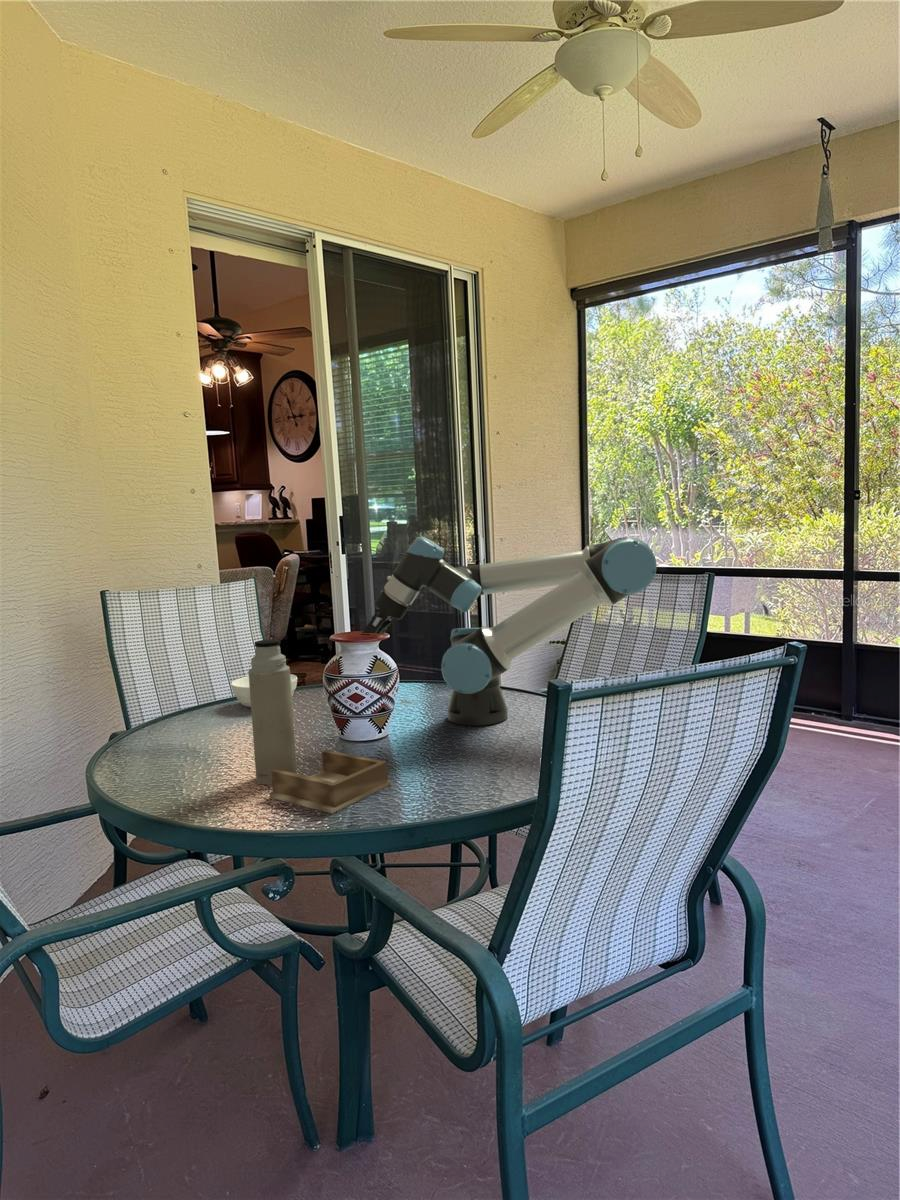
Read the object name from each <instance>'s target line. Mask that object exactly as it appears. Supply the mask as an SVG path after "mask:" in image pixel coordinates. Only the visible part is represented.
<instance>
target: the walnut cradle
mask: <svg viewBox="0 0 900 1200" xmlns="http://www.w3.org/2000/svg"><path fill="white" fill-rule="evenodd" d="M321 758H322V759H321V760H322V770H321V771H319V772H316V773H314V774H312V775H310V776H307V775H304V774H303V775H302V774H299V773H297V774H295V773H291V772H286V771H282V770H278V769H276V770H273V771H271V772H272V785H271V787H272V791H271V792H269V797H270V798H271V799H274V800H275V799H276V800H279V801H283V802H286V803H291V804H293V805H297V806H303V807H304V808H305V807H306V808H309V809H313V810H316V811H320V812H325V813H328V814H331V815H332V814H334V813H336V811H337V812H338V811H341V810H342V809H345V808H347V807H348V806H350V805H352V804H355V803H357V802H358V801H361V800H363V799H365V798H367V797H370V795H373V794H376V793H377V792H379V791H381V790H383V789H385V788H387V787H389V786H391V780H388V779H389V778H388V763H387V761H384V760H379V759H375V758H368V757H365V756H359V755H355V754H348V753H344V752H340V751H333V750H329V749H324V750H323V751H321Z"/></svg>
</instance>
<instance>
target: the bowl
mask: <svg viewBox="0 0 900 1200" xmlns="http://www.w3.org/2000/svg"><path fill="white" fill-rule="evenodd" d="M290 679H291V694H292V696H293V695H294V692H295V690H296V689H297V684H298V677H297V675H295V674H292V673H290ZM230 686H231V689H232V692H233V694H234V695H235V696H236V697H235V698H236V699H237V701H239V703H240V704H242V706H244V707H248V708H251V700H250V686H249V675H248V676H244V677H240V678H237V679H234V680H233V681H232V682H231V683H230Z"/></svg>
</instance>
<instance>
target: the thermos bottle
mask: <svg viewBox="0 0 900 1200" xmlns="http://www.w3.org/2000/svg"><path fill="white" fill-rule="evenodd" d="M280 645H281V640H280V639H275V638H274V639H272V638H271V639H262V640H257V641H255V642H254V647H255V649H254V654H255V655H254V656H253V657H252V658H251V660H250V665H251V668H250V669H248V676H249V686H250V700H251V707H250V712H251V713H250V714H251V724H252V738H253V739H252V740H253V752H254V767H255V768H254V769H255V777H256V778H255V779H256V782H257V783H259V784H261V785H265V786H266V785H267V786H268V785H269V786H272V772H271V771H273V770H276V769H278V770H282V771H286V772H291V773H295V774H298V772H297V771H298V769H297V757H296V755H297V754H296V739H295V724H294V713H293V695H292V694H291V679H290V674H291V669H290V666H289V665H287V663H286V662H287V659H286V655H284V654H282V653H281V652H282V651H281V646H280Z"/></svg>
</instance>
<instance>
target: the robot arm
mask: <svg viewBox="0 0 900 1200" xmlns="http://www.w3.org/2000/svg"><path fill="white" fill-rule="evenodd" d="M444 555H445V550H444V549H443V548H442V547H441V546H440V545H438V544H437V543H436V542H434V541H433V540H431V539H429V538H428V537H426V536H422V535H421V536H418V537H416V538H415V539H414V540H413V542H412V543H411V544H410V546H409V547H408V549H407V550H406V552H405V553H404V555H403V557H402V558H401V560H400V561H399V563H398V564H397V566H396V568H395V569H394V571H393V573H392V574H391V576H390V575H388V576H387V577H386V579H387V582H386V583H385V585H384V587H383V588H384V589H382V590H380V592H379V594H378V596H377V597H376V599H375V600H374V605H375V607H376V608H378V610H379V611H378V612H376V614H373V616H371V620H370V621H369V622H368V624H367V625H366V627H365V628H364V629H363V631H362V632H361V633H378V634H383V635H384V634H385V633H386V630H387V629H388V627H389V626H390V625H391V624H392V620H393V619H395V620H402V619H403V617H404V616H405V614H406V613H407V612H408V610H409V606H411V605H412V604H413V603H414V601H415V599H416V598H417V596H418V595H419V594H420V592H421V590H422V588H423V587H425V588H426V589H427V590H428V591H430V592H432V593H433V594H434V595H436V596H438V597H439V598H441V600H443V601H445V602H446V603H447V604H449V605H450V606H451V607H452V608H455V609H457V610H458V611H460V612H462V613H467V612H468V611H469V610H470V609H471V608H472V606H473V605H474V604H475V602H476V601H477V599H478V598H479V596H483V595H491V594H492V595H493V594H499V593H507V592H515V591H523V590H531V589H540V588H547V587H554V586H556V587H554V588H553V589H551V590H549V591H547V592H546V593H544V594H543V595H542V596H540V597H539V598H537V599H535V600H534V601H532V602H530V603H529V604H528V605H526V606H524V607H523V608H522V609H520V610H518V611H516V612H515V613H513V614H511V615H510V616H509V617H507V618H506V619H503V620H502V621H501V622H499V623H498V624H496V625H494V626H492V627H488V626H481V627H461V628H460V627H459V628H453V629H452V630H451V632H450V642H451V646H450V647H449V648H448V649H447V650H446V651H444V654H443V656H442V660H441V664H440V668H441V669H440V670H441V675H442V678H443V680H444V682H445V683H446V684H447V685H448V686H449V687H450V688H451V689H452V692H451V696H450V699H449V704H448V707H447V720H448V721H449V722H450V723H453V724H455V725H460V726H461V725H462V726H470V727H471V726H475V727H476V726H488V725H494V724H498V723H501V722H504V721H506V720H507V719H508V717H509V715H508V713H509V712H508V707H507V703H506V701H505V698H504V696H503V692H502V690H501V688H500V676H501V675H502V674H504V673H505V672H507V671H509V670H510V669H511V664H512V661H513V660H514V659H515V658H517V657H518V656H521V655H522V654H523V653H525V652H526V651H528V650H530V649H531V648H533V647H535V646H537V645H538V644H539V643H541V642H543V641H544V640H546V639H547V638H550V636H552V635H554V634H555V633H557V632H559V631H561V630H562V629H563V628H565V627H567V626H568V625H570V624H572V623H573V622H575V621H577V620H578V619H580V618H581V617H583V616H584V615H586V614H588V613H589V612H591V611H593V610H594V609H596V608H597V607H600V606H601V605H608V606H614V605H615V604H617V603H618V602H620V601H622V600H624V599H625V598H627V597H629V596H630V595H635V594H637V593H640V592H642V591H644V590H645V589H647V588H648V587H649V586H650V585H651V584H652V582H653V580H654V579H655V576H656V574H657V568H658V567H657V560H656V559H657V558H656V556H655V554H654V552H653V549H651V548H650V546H649V545H648V544H647V543H646V542H644V541H643V540H640V539H638V538H633V537H627V536H626V537H624V536H623V537H618V538H615V539H613V540H612V539H611V540H608V541H605V542H604V541H603V542H600V543H595V544H591V545H590V544H589V545H586V546H585V547H584V549H582V550H577V551H576V550H575V551H570V552H562V553H554V554H549V555H541V556H534V557H533V556H532V557H525V558H524V557H523V558H519V559H518V558H517V559H511V560H503V561H502V560H501V561H497V562H489V563H480V564H475V565H467V566H466V565H460V566H456V567H454V566H452V565H451V564H449V563H447V562H446V561H445V560H444V559H443V557H444ZM361 633H360V635H370V634H361Z"/></svg>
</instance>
